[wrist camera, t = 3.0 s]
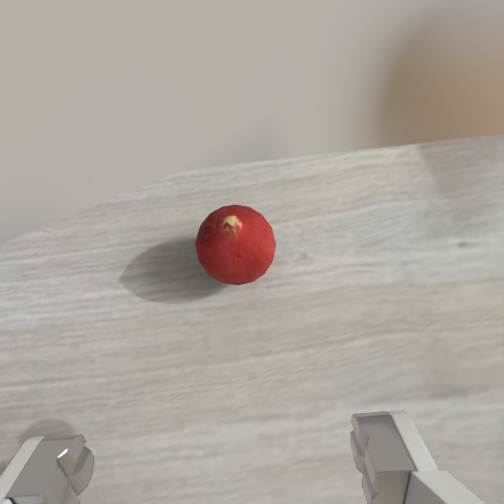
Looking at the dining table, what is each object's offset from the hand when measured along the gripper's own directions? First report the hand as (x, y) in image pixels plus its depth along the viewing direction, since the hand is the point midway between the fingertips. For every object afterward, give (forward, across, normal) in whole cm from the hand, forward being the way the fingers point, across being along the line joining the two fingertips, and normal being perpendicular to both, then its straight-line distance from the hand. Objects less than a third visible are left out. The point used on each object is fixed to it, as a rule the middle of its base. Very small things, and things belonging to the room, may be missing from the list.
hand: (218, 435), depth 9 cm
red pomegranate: (+18, 0, +3) cm, 18 cm away
